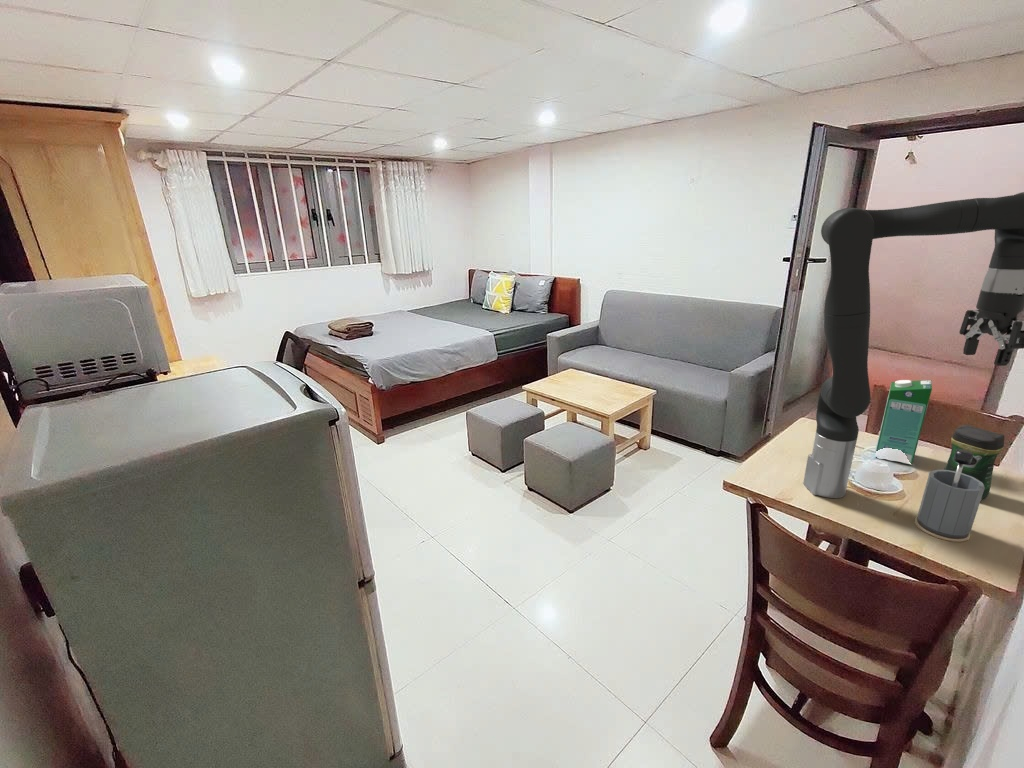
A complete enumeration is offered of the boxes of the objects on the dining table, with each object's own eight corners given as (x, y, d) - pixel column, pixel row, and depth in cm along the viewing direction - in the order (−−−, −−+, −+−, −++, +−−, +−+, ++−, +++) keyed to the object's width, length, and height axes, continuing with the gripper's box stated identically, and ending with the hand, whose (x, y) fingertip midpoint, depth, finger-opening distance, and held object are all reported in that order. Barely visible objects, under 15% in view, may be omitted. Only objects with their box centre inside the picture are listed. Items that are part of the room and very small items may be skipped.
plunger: (938, 530, 109) (960, 458, 103) (918, 514, 116) (937, 445, 109) (969, 531, 109) (993, 459, 102) (947, 514, 115) (968, 445, 109)
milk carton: (876, 446, 152) (893, 374, 144) (912, 454, 147) (931, 379, 138) (874, 457, 146) (891, 383, 137) (911, 465, 140) (932, 388, 132)
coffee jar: (992, 495, 124) (1013, 432, 118) (977, 504, 121) (998, 440, 115) (947, 479, 132) (965, 419, 126) (932, 486, 129) (950, 426, 123)
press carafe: (934, 541, 109) (949, 491, 104) (904, 515, 118) (917, 468, 114) (981, 542, 108) (998, 491, 103) (948, 516, 117) (962, 469, 112)
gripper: (960, 285, 109) (942, 351, 114) (1015, 294, 96) (992, 369, 101) (995, 284, 108) (976, 351, 114) (1056, 293, 95) (1031, 368, 100)
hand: (984, 359), depth 107 cm, fingers open, 8 cm apart
